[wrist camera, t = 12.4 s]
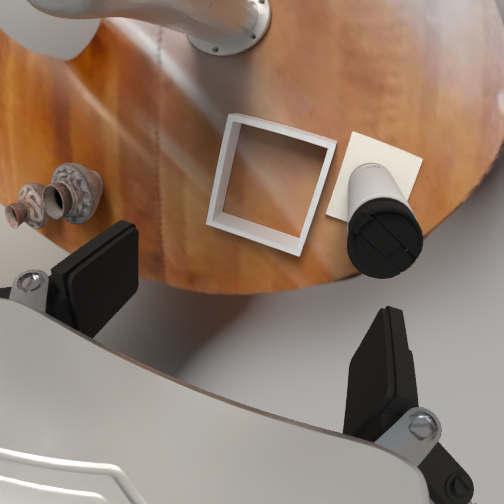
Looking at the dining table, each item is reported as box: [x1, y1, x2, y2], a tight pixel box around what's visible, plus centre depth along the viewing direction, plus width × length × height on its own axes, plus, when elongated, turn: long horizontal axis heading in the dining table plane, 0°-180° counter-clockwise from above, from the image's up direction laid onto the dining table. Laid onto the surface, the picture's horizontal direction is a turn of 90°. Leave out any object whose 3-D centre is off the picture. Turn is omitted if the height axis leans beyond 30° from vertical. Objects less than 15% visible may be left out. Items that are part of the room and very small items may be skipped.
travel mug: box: [347, 163, 423, 279], centre depth 31 cm, size 6×7×20 cm
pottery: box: [5, 163, 103, 229], centre depth 51 cm, size 11×25×12 cm, turn 102°
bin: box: [206, 113, 337, 257], centre depth 43 cm, size 16×14×4 cm
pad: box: [326, 131, 423, 222], centre depth 40 cm, size 12×10×1 cm
